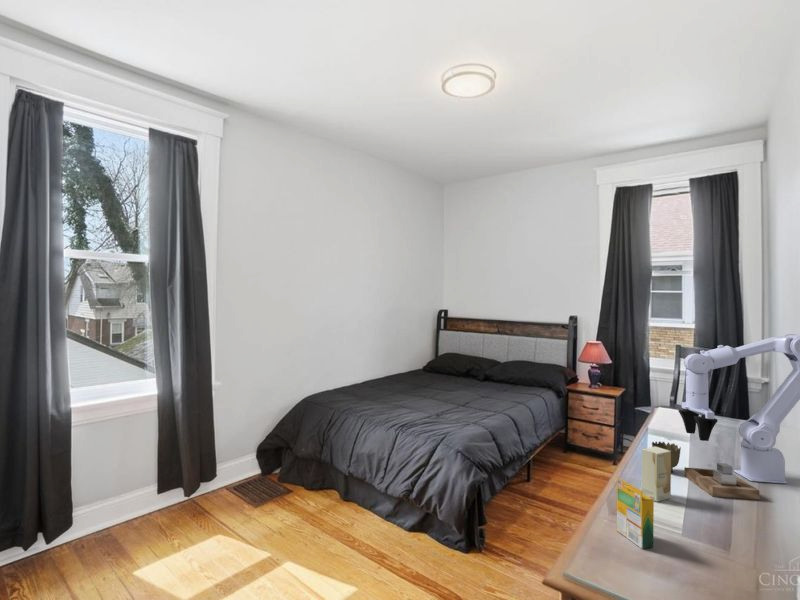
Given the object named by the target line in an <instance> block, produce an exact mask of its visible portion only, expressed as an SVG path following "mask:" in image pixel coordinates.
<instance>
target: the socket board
mask: <svg viewBox="0 0 800 600" xmlns="http://www.w3.org/2000/svg"><path fill="white" fill-rule="evenodd" d="M683 468H684V477H685V478H687V479H688V480H689V481H690V482H692V483H693V484H695V485H696V486H697V487H699V488H700V489H701V490H703V491H704V492H706V494H708V495H709V496H712V498H713V497H714V498H725V499H726V498H727V499H739V500H741V499H742V500H753V501H760V490H759V489H758V488H756V487H754V486H753V485H751V484H749V483H748V482H747V481H744V480H743V479H741V478H739V477H738V476H736V487H735V486H722V485H720V484H719V483H717V482H716V481H714V480H713V469H714V468H699V467H697V468H696V467H683Z"/></svg>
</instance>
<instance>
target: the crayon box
mask: <svg viewBox="0 0 800 600" xmlns="http://www.w3.org/2000/svg"><path fill="white" fill-rule="evenodd" d="M654 502H655V501H654V500H653V499H652V498H650V497H648V496H646V495H644V494H642V491H641V488H640V489H639V488H638V487H636V486H635V485H632V484H630V483H628V482H626V481H625V480H623V479H622V478H619V477H616V532H618V533H619V534H621V535H622V536H624V537H625V538H626V539H628V540H629V541H630V542H632V543H634V545H636V546H637V547H639V548H640V549H642V550H643V549H644V550H645V549H651V548H654V518H655V517H654V514H655V513H654V507H655V505H654V504H655V503H654Z"/></svg>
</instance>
